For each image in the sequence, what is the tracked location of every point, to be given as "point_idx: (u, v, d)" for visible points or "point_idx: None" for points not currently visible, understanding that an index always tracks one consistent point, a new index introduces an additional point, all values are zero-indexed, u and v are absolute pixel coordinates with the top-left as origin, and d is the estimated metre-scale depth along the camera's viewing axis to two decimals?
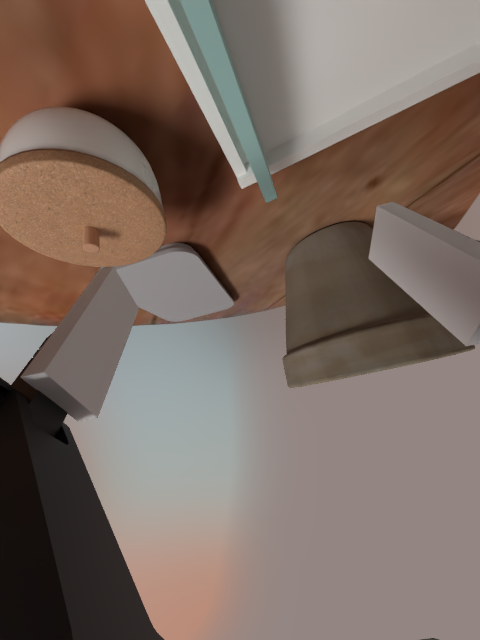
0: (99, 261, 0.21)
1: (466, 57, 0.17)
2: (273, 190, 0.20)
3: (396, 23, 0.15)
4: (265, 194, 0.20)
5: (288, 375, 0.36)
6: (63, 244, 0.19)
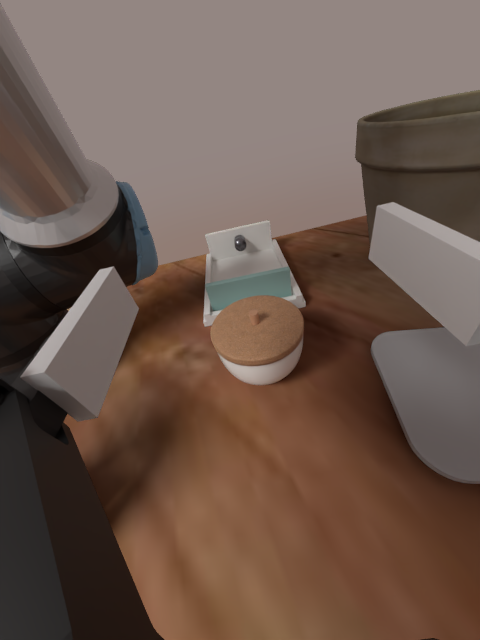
0: (287, 334, 0.25)
1: (274, 250, 0.52)
2: (282, 268, 0.38)
3: (260, 269, 0.49)
4: (283, 270, 0.37)
5: None
6: (257, 339, 0.26)
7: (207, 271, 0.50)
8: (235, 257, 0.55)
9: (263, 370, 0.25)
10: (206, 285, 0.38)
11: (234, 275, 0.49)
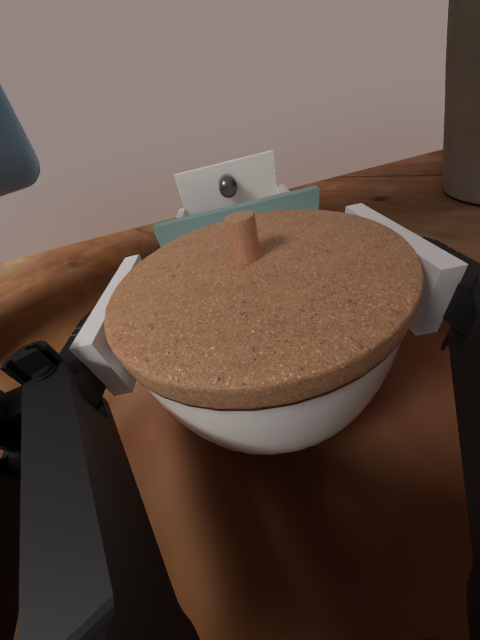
0: (369, 280, 0.06)
1: None
2: (303, 188, 0.19)
3: None
4: (306, 190, 0.19)
5: None
6: (253, 302, 0.07)
7: None
8: None
9: (278, 424, 0.06)
10: (155, 225, 0.20)
11: None
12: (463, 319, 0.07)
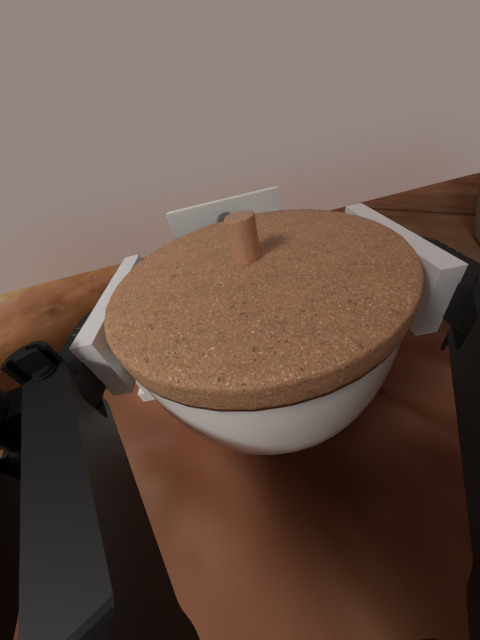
0: (369, 280, 0.06)
1: None
2: None
3: None
4: None
5: None
6: (253, 302, 0.07)
7: None
8: None
9: (278, 425, 0.06)
10: None
11: None
12: (463, 319, 0.07)
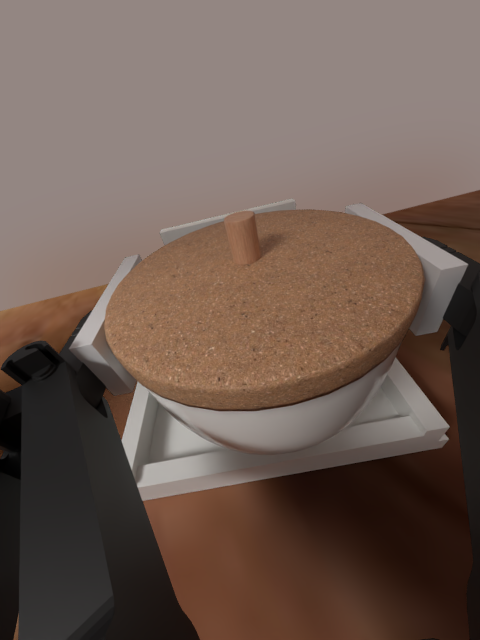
0: (369, 280, 0.06)
1: None
2: None
3: None
4: None
5: None
6: (253, 302, 0.07)
7: None
8: None
9: (278, 424, 0.06)
10: None
11: None
12: (463, 319, 0.07)
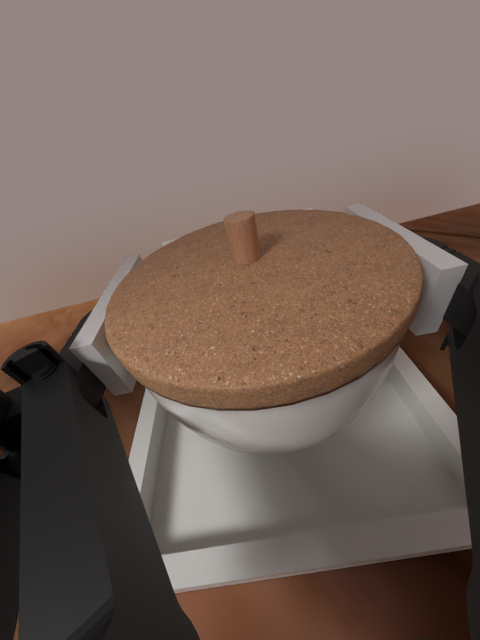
0: (369, 280, 0.06)
1: None
2: None
3: None
4: None
5: None
6: (253, 302, 0.07)
7: None
8: None
9: (278, 424, 0.06)
10: None
11: None
12: (463, 319, 0.07)
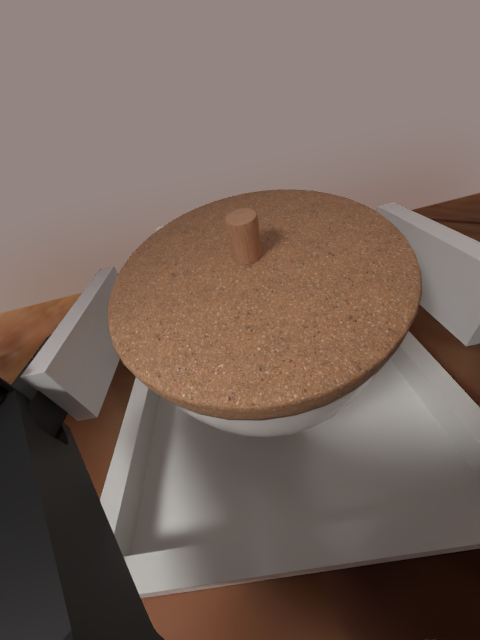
0: (370, 293, 0.07)
1: None
2: None
3: None
4: None
5: None
6: (257, 314, 0.07)
7: None
8: None
9: (280, 424, 0.07)
10: None
11: None
12: None
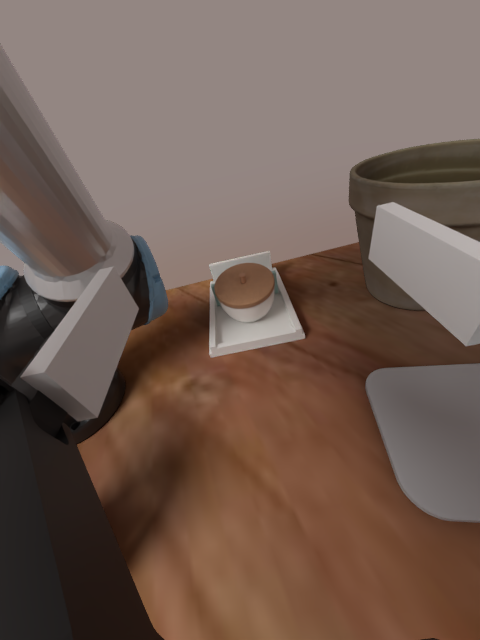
0: (263, 288, 0.41)
1: None
2: None
3: None
4: None
5: (469, 200, 0.26)
6: (244, 292, 0.41)
7: (211, 300, 0.52)
8: None
9: (248, 311, 0.41)
10: (212, 285, 0.50)
11: None
12: None
